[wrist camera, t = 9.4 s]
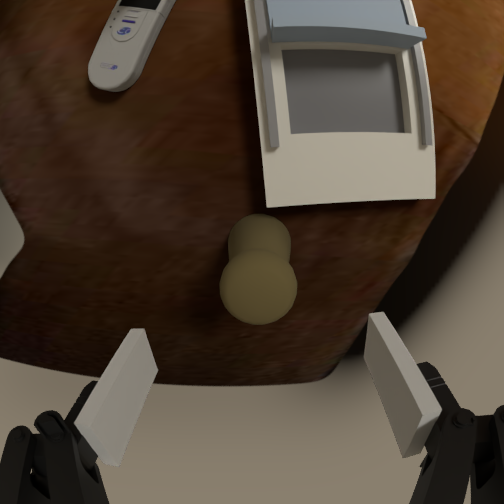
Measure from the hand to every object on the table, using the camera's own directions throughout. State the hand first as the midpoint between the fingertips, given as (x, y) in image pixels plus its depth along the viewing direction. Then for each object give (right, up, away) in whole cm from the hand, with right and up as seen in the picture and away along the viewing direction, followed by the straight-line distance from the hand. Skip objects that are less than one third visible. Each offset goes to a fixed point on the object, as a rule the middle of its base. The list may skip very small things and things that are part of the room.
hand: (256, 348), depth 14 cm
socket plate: (+8, +22, +9) cm, 25 cm away
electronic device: (-11, +27, +8) cm, 30 cm away
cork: (0, +5, +15) cm, 16 cm away
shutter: (+7, +27, +5) cm, 28 cm away
